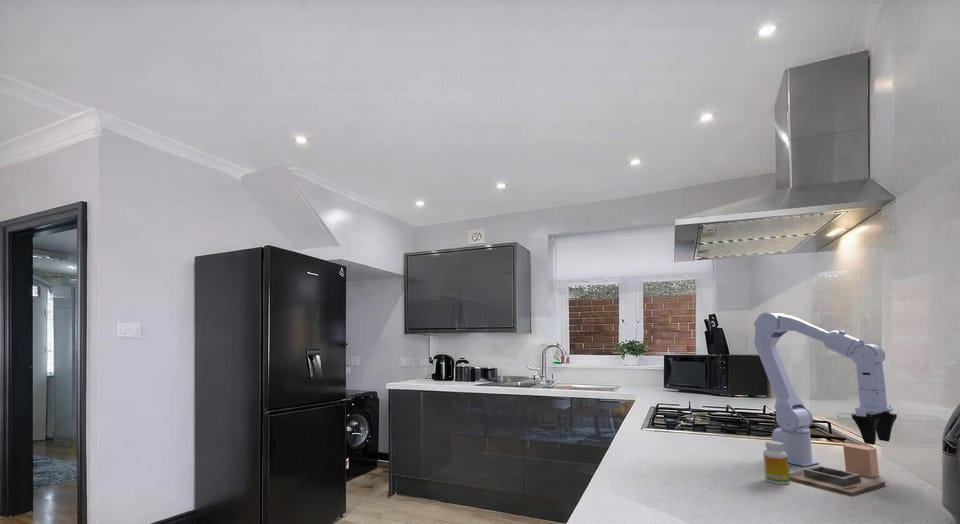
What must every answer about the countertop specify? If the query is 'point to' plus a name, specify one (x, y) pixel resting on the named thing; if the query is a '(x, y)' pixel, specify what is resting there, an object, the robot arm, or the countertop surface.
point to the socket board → (835, 480)
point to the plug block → (861, 460)
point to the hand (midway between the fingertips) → (877, 442)
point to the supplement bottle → (776, 463)
